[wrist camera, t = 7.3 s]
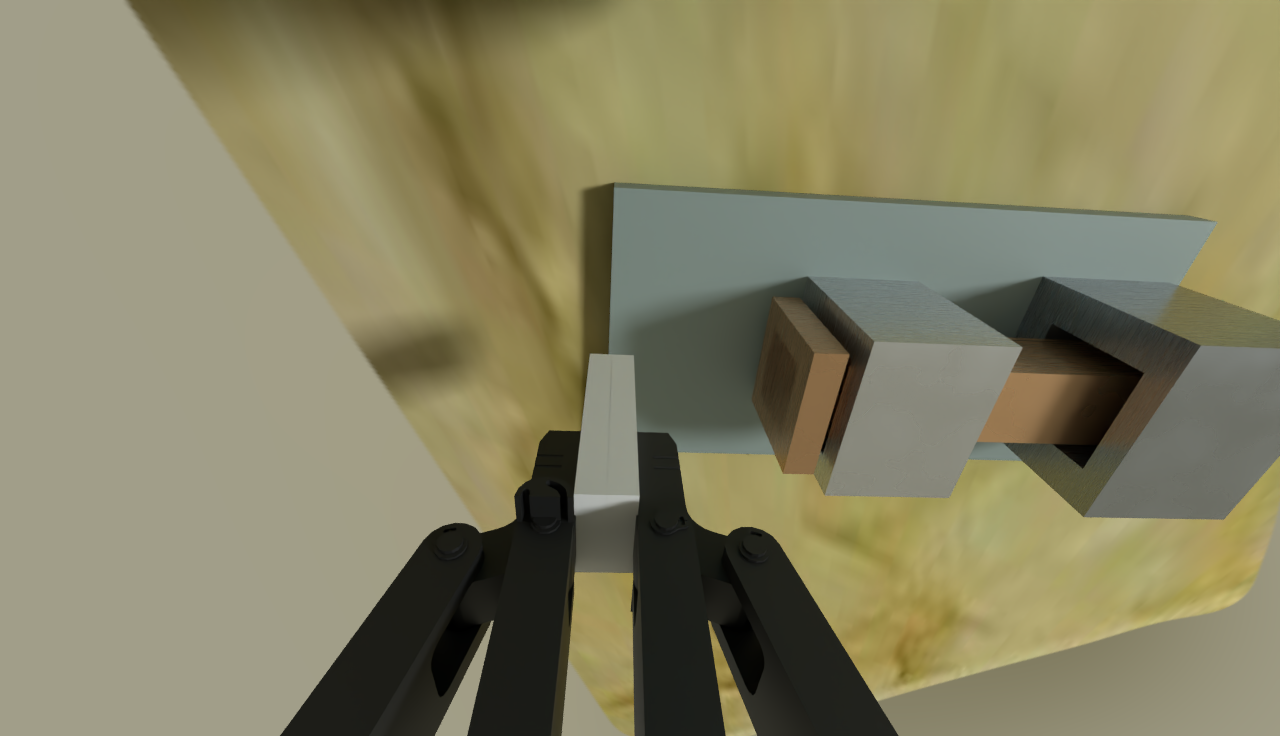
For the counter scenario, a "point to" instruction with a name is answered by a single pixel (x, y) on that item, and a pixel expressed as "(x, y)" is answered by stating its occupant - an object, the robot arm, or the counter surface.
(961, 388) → the sleeve
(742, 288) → the board
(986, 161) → the counter surface
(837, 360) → the bolt
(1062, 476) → the socket
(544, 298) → the counter surface
